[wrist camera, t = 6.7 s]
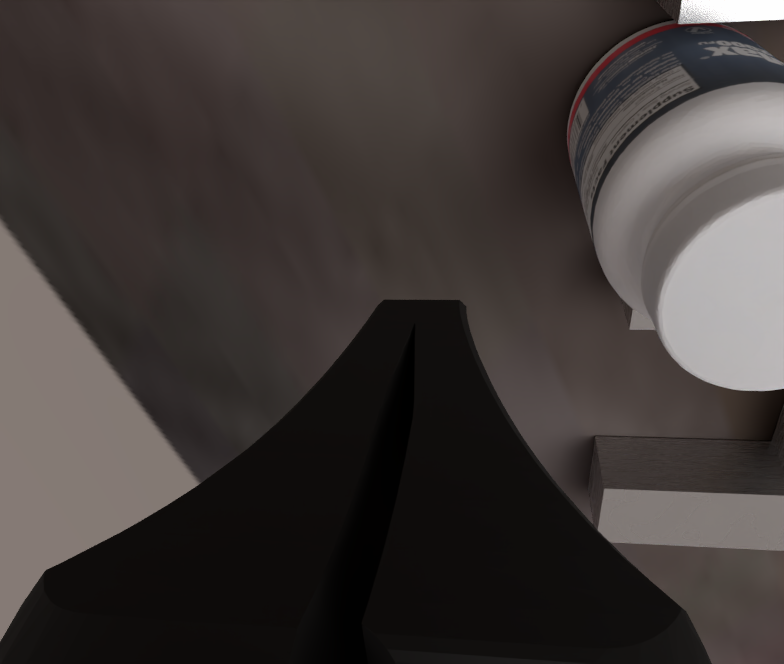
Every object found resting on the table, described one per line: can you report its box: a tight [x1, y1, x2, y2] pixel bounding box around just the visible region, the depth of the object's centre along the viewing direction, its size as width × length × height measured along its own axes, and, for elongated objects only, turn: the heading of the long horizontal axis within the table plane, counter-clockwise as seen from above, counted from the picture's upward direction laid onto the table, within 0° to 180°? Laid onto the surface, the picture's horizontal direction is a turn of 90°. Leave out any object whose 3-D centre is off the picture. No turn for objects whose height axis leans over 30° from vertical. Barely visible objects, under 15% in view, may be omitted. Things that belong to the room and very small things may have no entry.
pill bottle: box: [567, 20, 784, 391], centre depth 15 cm, size 5×5×9 cm
